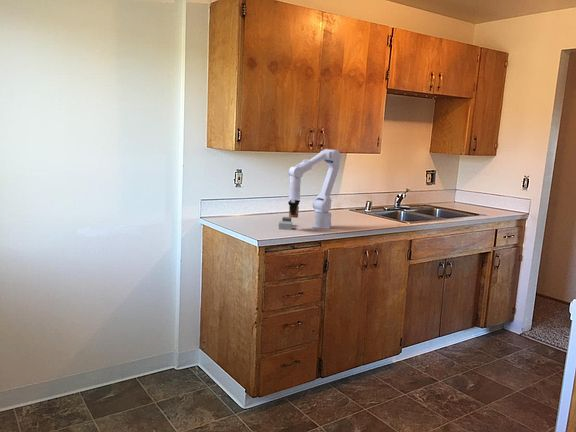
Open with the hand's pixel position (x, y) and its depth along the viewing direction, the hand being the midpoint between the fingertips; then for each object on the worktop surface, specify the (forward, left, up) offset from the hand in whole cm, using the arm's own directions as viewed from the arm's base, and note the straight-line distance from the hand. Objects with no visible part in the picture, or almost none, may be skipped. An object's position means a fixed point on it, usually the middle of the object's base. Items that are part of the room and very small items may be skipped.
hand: (293, 214), depth 264 cm
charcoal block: (+5, -10, -9) cm, 14 cm away
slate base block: (+4, -2, -9) cm, 10 cm away
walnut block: (0, 0, -2) cm, 2 cm away
